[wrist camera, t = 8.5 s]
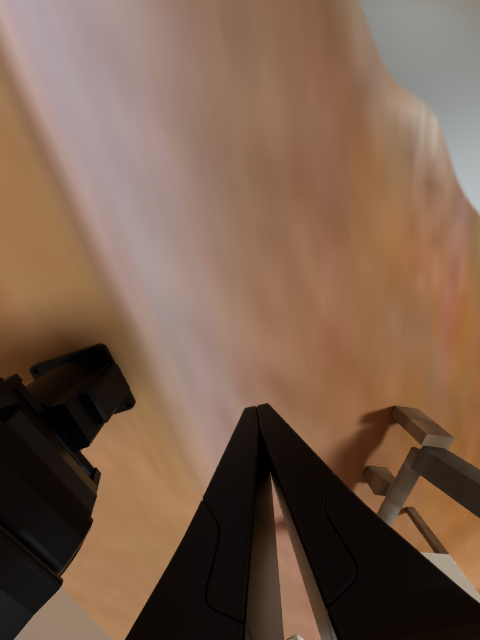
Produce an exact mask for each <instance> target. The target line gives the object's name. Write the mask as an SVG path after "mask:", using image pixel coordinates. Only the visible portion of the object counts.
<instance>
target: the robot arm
mask: <svg viewBox="0 0 480 640" xmlns="http://www.w3.org/2000/svg"><path fill="white" fill-rule="evenodd" d="M98 348H100V349H101V350H102V352H100V351H99V350H98ZM37 369H38V370H39V371H38V370H37ZM30 373H31V374H32V376H33V377H34V379H35V381H33V382H32V383H30V384H29V385H27V386H26V387H25V386H24V385H23V384H22V382H21V381H23V380H22V379H21V378H20V377H19V375H18V374H17V373H16V374H14V375H11V376H9V377H7V378H5V379H3V378H2V377H1V378H0V640H14V638H15V637H16V636H17V635H18V634H19V632H20V631H21V630H22V629H23V628H24V626H25V625H26V624H27V622H28V621H29V620H30V619H31V618H32V617H33V615H34V614H35V613H36V612H37V611H38V610H39V609H40V608H41V607H42V606H43V605H44V604H45V603H46V602H47V601H48V600H49V599H50V598H51V597H52V596H53V595H54V594H55V593H56V592H57V591H58V590H59V589H60V587H61V586H62V583H63V579H62V578H61V577H60V576H61V575H62V574H63V573H64V572H65V570H66V569H67V568H68V566H69V565H70V564H71V562H72V561H73V559H74V558H75V556H76V554H77V553H78V551H79V550H80V548H81V546H82V544H83V542H84V540H85V538H86V536H87V534H88V532H89V530H90V528H91V526H92V523H93V518H92V517H91V515H92V511H93V507H94V504H95V501H96V498H97V489H98V485H99V480H100V476H101V472H100V471H99V470H98V469H97V468H94V467H93V466H92V465H91V464H90V462H89V461H88V460H87V459H86V458H85V457H84V455H83V454H82V453H81V450H82V449H83V448H86V447H88V446H90V444H91V443H92V441H93V440H94V438H95V437H96V435H97V434H98V433H99V431H100V430H101V428H102V427H103V425H104V424H105V423H107V422H108V421H109V420H110V418H111V417H112V415H114V414H117V413H120V412H123V411H126V410H129V409H132V408H133V407H134V405H135V403H136V401H135V399H134V397H133V395H132V393H131V391H130V387H129V385H128V383H127V382H126V380H125V378H124V376H123V374H122V372H121V370H120V368H119V367H118V365H117V364H116V363H115V361H114V359H113V358H112V356H111V354H110V352H109V350H108V348H107V347H106V345H104V344H96V345H93V346H90V347H87V348H84V349H81V350H78V351H75V352H72V353H69V354H65V355H62V356H59V357H56V358H53V359H50V360H47V361H44V362H41V363H38V364H35V365H34V366H32V367H31V368H30ZM127 402H130V403H131V404H128V403H127ZM270 473H271V475H270ZM271 477H272V480H273V484H274V487H275V491H276V494H277V497H278V500H279V504H280V507H281V510H282V513H283V517H284V520H285V523H286V526H287V530H288V533H289V536H290V539H291V543H292V546H293V549H294V552H295V556H296V559H297V562H298V565H299V568H300V572H301V575H302V578H303V581H304V585H305V588H306V591H307V594H308V598H309V601H310V604H311V607H312V611H313V614H314V617H315V620H316V624H317V627H318V630H319V633H320V637H321V640H480V603H479V602H478V601H477V600H475V599H474V598H473V597H472V596H470V595H469V594H468V593H467V592H466V591H464V590H463V589H462V588H461V587H460V586H459V585H457V584H456V583H455V582H454V581H453V580H452V579H450V578H449V577H448V576H447V575H446V574H445V573H443V572H442V571H441V570H440V569H439V568H438V567H436V566H435V565H434V564H433V563H432V562H431V561H430V560H428V559H427V558H426V557H425V556H424V555H423V554H421V553H420V552H419V551H418V550H417V549H416V548H415V547H413V546H412V545H411V544H410V543H409V542H408V541H406V540H405V539H404V538H403V537H402V536H401V535H399V534H398V533H397V532H396V531H395V530H394V529H393V528H391V527H390V526H389V525H388V524H387V523H386V522H385V521H383V520H382V519H381V518H380V517H379V516H378V515H377V514H376V513H375V512H373V511H372V510H371V509H370V508H369V507H368V506H367V505H366V504H365V503H364V502H363V501H362V500H361V499H360V498H359V497H358V496H357V495H356V494H355V493H354V492H353V491H352V490H350V489H349V488H348V487H347V486H346V484H345V483H344V482H343V481H342V480H341V479H340V478H339V477H338V476H337V475H336V474H334V473H333V471H332V470H331V469H330V468H329V467H328V466H327V465H326V464H325V463H324V462H323V460H322V459H321V458H320V457H319V456H318V455H317V454H316V453H315V452H314V451H313V450H312V449H311V448H310V447H309V446H308V445H307V444H306V443H305V442H304V440H303V439H302V438H301V437H300V436H299V435H298V434H297V433H296V432H295V431H294V430H293V429H292V428H291V427H290V426H289V425H288V424H287V423H286V422H285V420H284V419H283V418H282V417H281V416H280V415H279V414H278V413H277V412H276V411H275V410H274V409H273V408H272V407H271V406H270V405H269V404H268V403H266V404H261V405H258V406H257V407H256V406H252V407H247V408H245V409H244V411H243V413H242V415H241V417H240V419H239V421H238V424H237V426H236V428H235V430H234V432H233V434H232V436H231V439H230V441H229V443H228V445H227V447H226V449H225V451H224V454H223V456H222V458H221V460H220V462H219V464H218V466H217V468H216V471H215V473H214V475H213V477H212V479H211V481H210V483H209V486H208V488H207V490H206V492H205V494H204V496H203V500H202V501H201V502H200V504H199V507H198V509H197V511H196V513H195V515H194V517H193V519H192V521H191V523H190V525H189V527H188V529H187V531H186V533H185V535H184V537H183V539H182V541H181V543H180V545H179V546H178V548H177V550H176V552H175V554H174V555H173V557H172V559H171V561H170V563H169V564H168V566H167V568H166V570H165V571H164V573H163V575H162V577H161V578H160V580H159V582H158V583H157V585H156V587H155V589H154V590H153V592H152V594H151V596H150V597H149V599H148V601H147V602H146V604H145V606H144V608H143V609H142V611H141V613H140V615H139V616H138V618H137V620H136V621H135V623H134V625H133V627H132V628H131V630H130V632H129V634H128V635H127V637H126V639H125V640H284V634H283V621H282V608H281V596H280V583H279V570H278V558H277V545H276V533H275V520H274V507H273V495H272V483H271Z"/></svg>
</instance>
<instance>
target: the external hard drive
mask: <svg viewBox="0 0 480 640" xmlns="http://www.w3.org/2000/svg"><path fill="white" fill-rule="evenodd" d="M288 640H305V639H303V638H302V637H300V636H298V635H295V636H294V637H292V638H290V639H288Z"/></svg>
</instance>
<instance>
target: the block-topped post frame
mask: <svg viewBox="0 0 480 640" xmlns="http://www.w3.org/2000/svg"><path fill="white" fill-rule="evenodd" d="M420 475H421V476H422V477H424V478H425V479H426V480H428V481H429V482H431V483H432V484H433V485H435V486H436V487H437V488H439V489H440V490H442V491H443V492H444V493H446V494H447V495H448V496H450V497H451V498H453V499H454V500H455V501H457V502H458V503H460V504H461V505H462V506H464V507H465V508H466V509H468V510H469V511H471V512H472V513H473V514H475V515H476V516H477V517H479V518H480V470H479V469H478V468H476V467H474V466H473V465H471V464H469V463H468V462H466V461H465V460H463V459H461V458H460V457H458V456H456V455H455V454H453V453H451V452H450V451H448V450H446V449H445V448H439V447H431V446H424V445H423V446H422V448H421V450H420V449H418V448H416V447H412V448H411V449H410V451H409V453H408V455H407V457H406V459H405V461H404V463H403V465H402V467H401V468H400V470H399V472H398V474H397V476H396V478H395V480H394V482H393V484H392V486H391V488H390V489H389V491H388V493H387V495H386V497H385V499H384V501H383V503H382V505H381V507H380V509H379V510H378V512H377V515H378V516H379V517H380V518H381V519H382V520H383V521H385V522H386V523H387V524H388V525H389V526H390V527H391V526H392V524H393V523H394V521H395V519H396V517H397V515H398V514H399V512H400V510H401V508H402V506H403V505H404V503H405V501H406V499H407V497H408V496H409V494H410V492H411V490H412V489H413V487H414V485H415V483H416V481H417V480H418V478H419V476H420Z"/></svg>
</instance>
